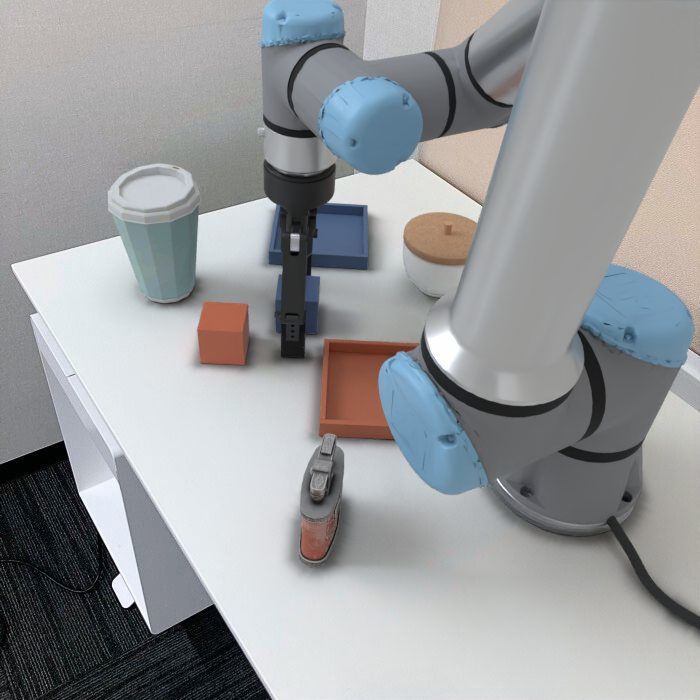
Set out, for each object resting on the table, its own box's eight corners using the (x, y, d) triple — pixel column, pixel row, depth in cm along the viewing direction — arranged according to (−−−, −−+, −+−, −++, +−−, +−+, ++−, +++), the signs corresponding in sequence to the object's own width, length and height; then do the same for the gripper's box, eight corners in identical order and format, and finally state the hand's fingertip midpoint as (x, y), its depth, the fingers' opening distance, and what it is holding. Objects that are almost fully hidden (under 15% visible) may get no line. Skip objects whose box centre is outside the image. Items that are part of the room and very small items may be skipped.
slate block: (317, 334, 89) (318, 301, 85) (275, 332, 89) (275, 299, 85) (318, 308, 92) (320, 276, 89) (278, 306, 92) (278, 273, 89)
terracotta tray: (445, 442, 77) (447, 429, 76) (318, 436, 77) (319, 423, 75) (435, 356, 87) (437, 344, 86) (323, 351, 87) (324, 338, 85)
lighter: (329, 570, 65) (334, 502, 58) (292, 563, 65) (293, 495, 59) (345, 497, 71) (352, 428, 64) (311, 491, 71) (314, 421, 65)
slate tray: (367, 269, 99) (368, 256, 98) (268, 263, 99) (268, 251, 97) (366, 216, 109) (367, 204, 108) (277, 211, 109) (277, 199, 107)
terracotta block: (244, 365, 84) (242, 332, 81) (200, 363, 84) (196, 329, 81) (249, 336, 88) (248, 303, 84) (207, 334, 88) (204, 301, 84)
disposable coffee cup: (172, 325, 88) (157, 217, 78) (104, 294, 92) (82, 187, 82) (226, 281, 95) (218, 177, 85) (161, 254, 99) (146, 151, 89)
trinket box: (482, 311, 94) (496, 250, 88) (398, 306, 94) (406, 244, 87) (474, 262, 102) (486, 203, 96) (396, 257, 102) (403, 198, 95)
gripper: (274, 105, 85) (274, 255, 100) (249, 224, 67) (255, 388, 81) (339, 109, 85) (330, 259, 100) (332, 229, 67) (323, 391, 81)
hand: (296, 317), depth 91 cm, fingers open, 13 cm apart
